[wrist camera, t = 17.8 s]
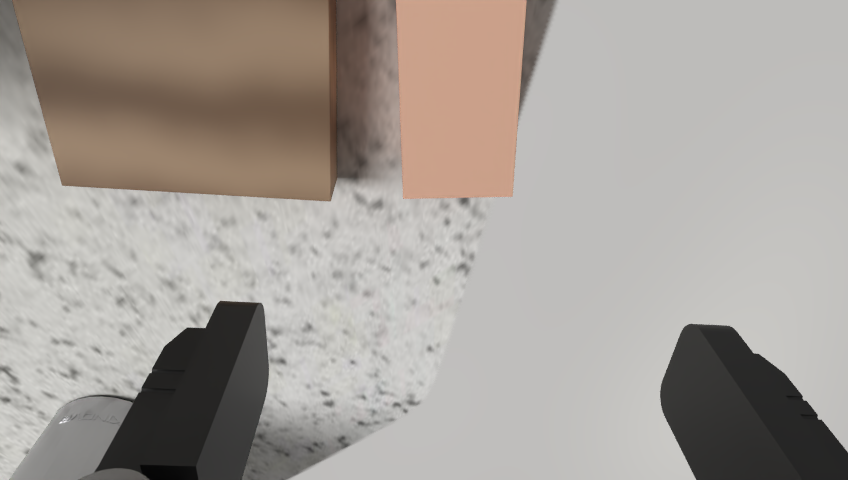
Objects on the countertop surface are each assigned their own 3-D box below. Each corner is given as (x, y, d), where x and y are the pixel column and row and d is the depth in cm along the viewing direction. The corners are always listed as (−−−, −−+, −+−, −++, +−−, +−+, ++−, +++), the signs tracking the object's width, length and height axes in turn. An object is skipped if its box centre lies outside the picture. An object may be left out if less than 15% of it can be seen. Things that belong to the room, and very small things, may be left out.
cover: (511, -56, 28) (529, -48, 23) (499, 158, 33) (512, 196, 29) (397, -54, 27) (394, -46, 23) (404, 160, 33) (403, 198, 29)
